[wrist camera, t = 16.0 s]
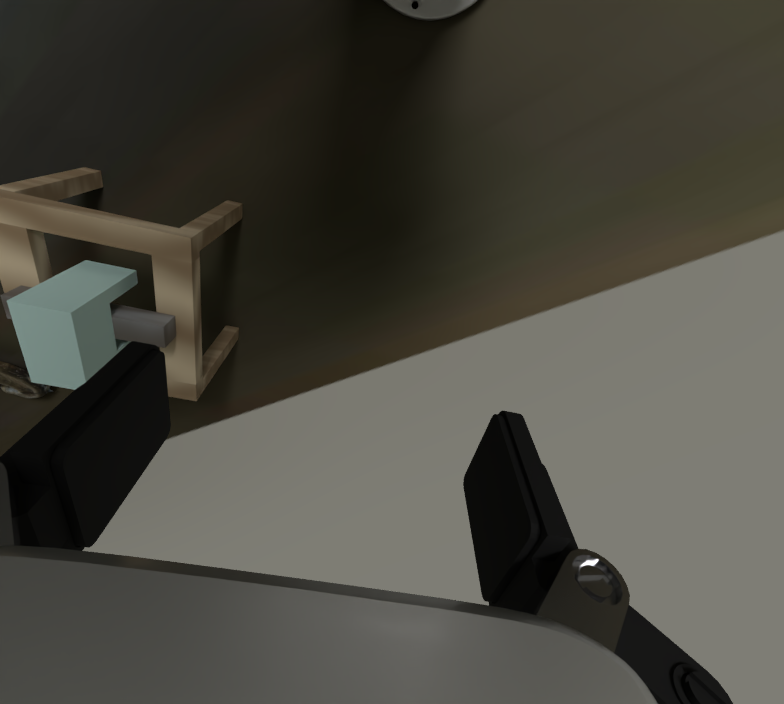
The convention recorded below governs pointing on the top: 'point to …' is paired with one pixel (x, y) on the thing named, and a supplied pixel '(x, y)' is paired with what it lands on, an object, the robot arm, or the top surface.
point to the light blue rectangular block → (70, 323)
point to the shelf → (165, 243)
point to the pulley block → (20, 382)
